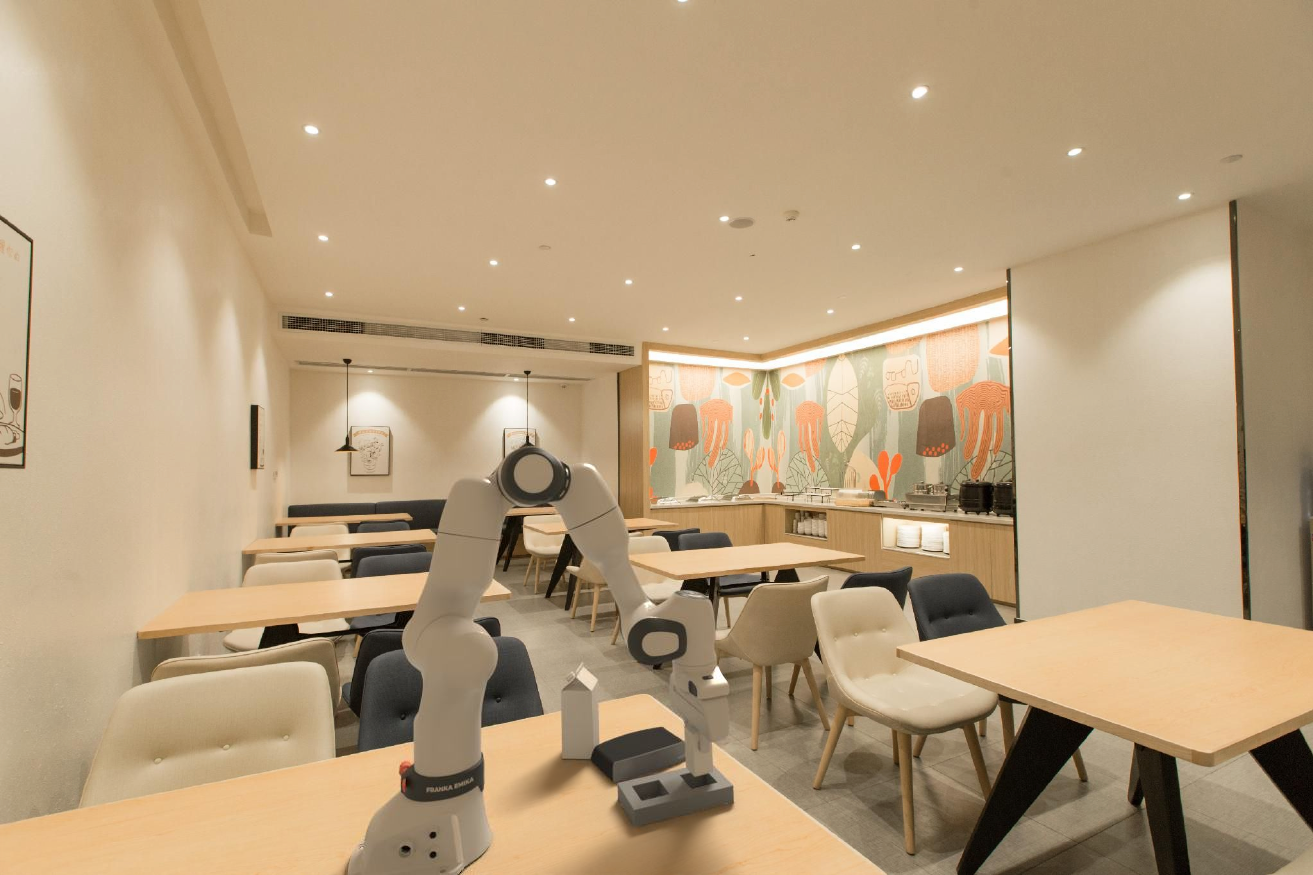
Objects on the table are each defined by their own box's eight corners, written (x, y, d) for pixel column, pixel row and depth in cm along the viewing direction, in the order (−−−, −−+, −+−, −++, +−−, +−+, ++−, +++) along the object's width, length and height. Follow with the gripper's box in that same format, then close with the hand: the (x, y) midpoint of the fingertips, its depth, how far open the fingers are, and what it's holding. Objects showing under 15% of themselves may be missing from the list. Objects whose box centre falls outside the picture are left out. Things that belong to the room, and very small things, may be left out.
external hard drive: (693, 761, 129) (693, 741, 129) (614, 787, 119) (614, 766, 119) (663, 738, 140) (662, 721, 140) (588, 761, 130) (588, 742, 130)
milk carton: (599, 745, 136) (597, 662, 137) (593, 760, 129) (591, 672, 130) (569, 744, 137) (568, 662, 138) (561, 759, 130) (560, 672, 131)
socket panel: (634, 827, 104) (634, 810, 104) (617, 798, 113) (617, 783, 114) (733, 801, 111) (733, 785, 112) (710, 776, 121) (710, 761, 121)
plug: (694, 776, 112) (692, 729, 113) (685, 767, 116) (683, 720, 116) (713, 771, 114) (711, 724, 114) (704, 762, 117) (702, 716, 118)
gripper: (660, 661, 124) (663, 727, 124) (702, 694, 105) (706, 773, 105) (687, 656, 127) (690, 722, 126) (733, 688, 108) (737, 765, 107)
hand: (698, 745), depth 115 cm, fingers closed on plug, 4 cm apart
